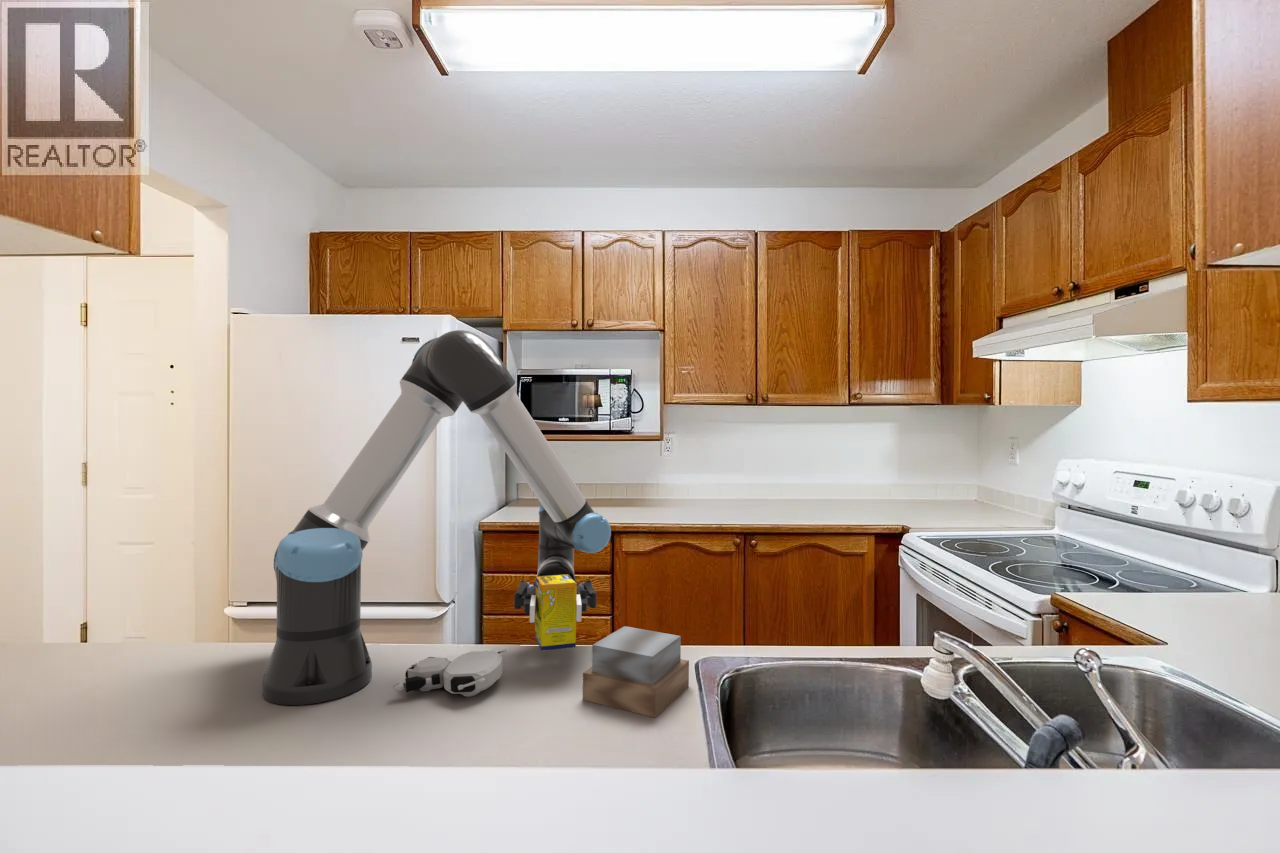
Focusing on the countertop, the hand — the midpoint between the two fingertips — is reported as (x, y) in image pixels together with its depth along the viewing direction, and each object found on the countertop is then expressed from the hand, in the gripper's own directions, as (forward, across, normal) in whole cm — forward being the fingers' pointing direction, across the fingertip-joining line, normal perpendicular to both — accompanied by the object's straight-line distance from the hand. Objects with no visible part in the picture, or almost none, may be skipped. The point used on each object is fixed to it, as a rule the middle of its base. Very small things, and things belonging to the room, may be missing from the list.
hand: (555, 613), depth 99 cm
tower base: (+7, -13, -10) cm, 18 cm away
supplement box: (-5, 0, -7) cm, 8 cm away
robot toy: (+1, +16, -11) cm, 19 cm away
